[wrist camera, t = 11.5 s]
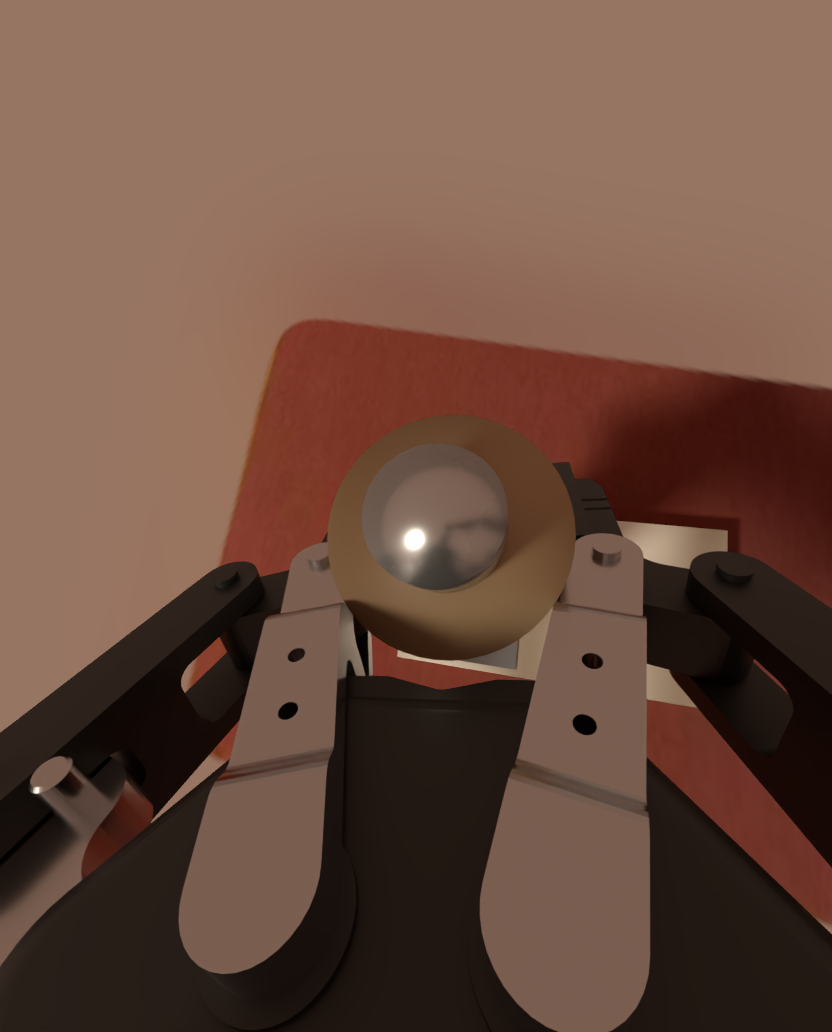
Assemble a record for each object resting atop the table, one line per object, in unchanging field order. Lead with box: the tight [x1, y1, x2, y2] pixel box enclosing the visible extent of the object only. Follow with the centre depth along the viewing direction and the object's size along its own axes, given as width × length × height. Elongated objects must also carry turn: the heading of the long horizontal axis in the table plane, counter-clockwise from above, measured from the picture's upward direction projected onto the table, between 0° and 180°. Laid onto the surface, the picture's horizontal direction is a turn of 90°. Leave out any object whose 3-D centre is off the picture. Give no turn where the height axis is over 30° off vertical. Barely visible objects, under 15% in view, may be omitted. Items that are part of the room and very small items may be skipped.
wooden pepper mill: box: [327, 415, 576, 661], centre depth 11 cm, size 4×4×11 cm
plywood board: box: [397, 521, 728, 708], centre depth 21 cm, size 14×8×1 cm, turn 82°
